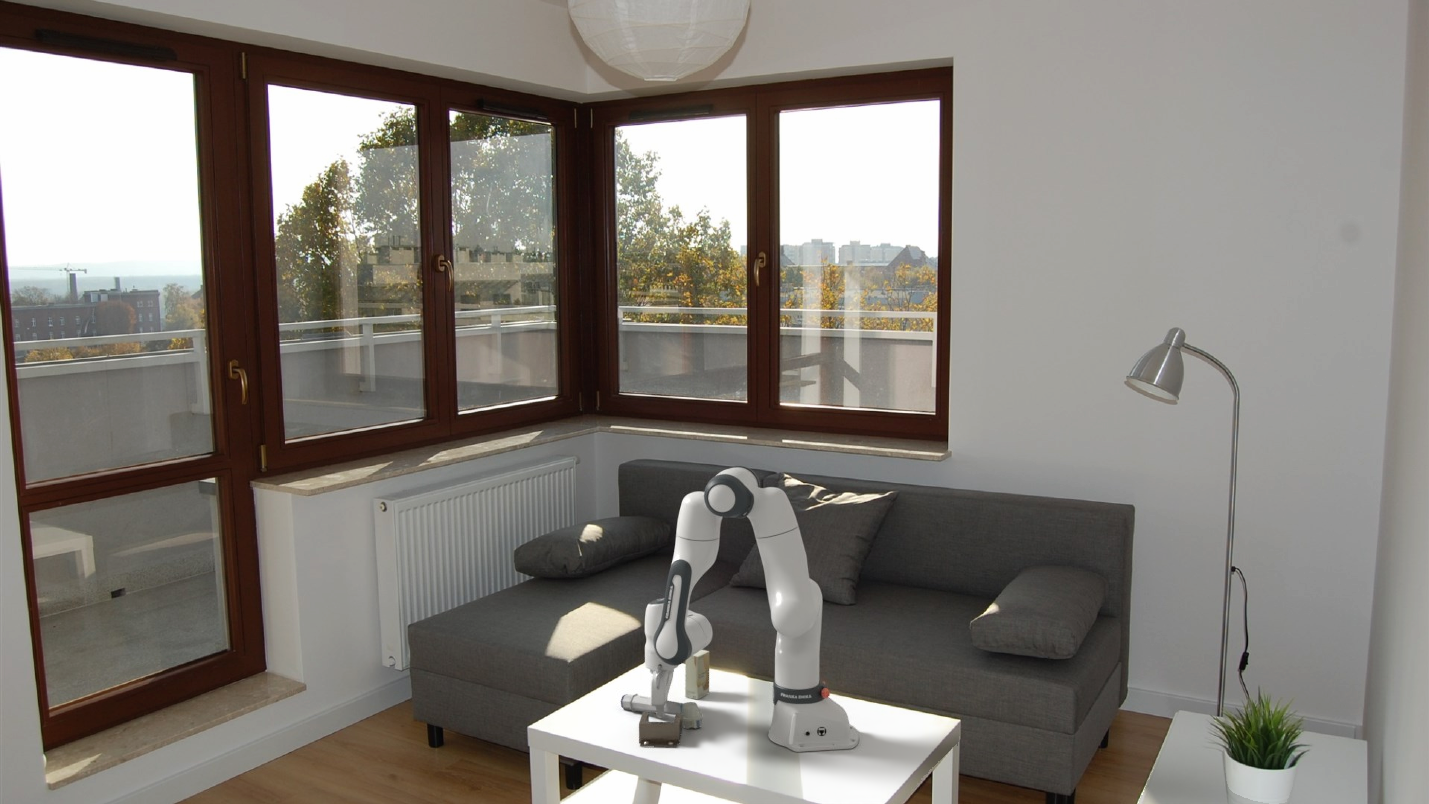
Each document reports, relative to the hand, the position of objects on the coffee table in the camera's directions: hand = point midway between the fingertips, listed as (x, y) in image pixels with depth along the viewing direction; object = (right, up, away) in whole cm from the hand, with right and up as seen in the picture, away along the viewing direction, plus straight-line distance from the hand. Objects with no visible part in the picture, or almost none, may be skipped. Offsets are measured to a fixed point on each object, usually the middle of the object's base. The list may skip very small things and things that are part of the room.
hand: (662, 710), depth 281 cm
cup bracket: (0, -3, -12) cm, 13 cm away
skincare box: (+9, -1, +17) cm, 19 cm away
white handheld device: (0, -3, 0) cm, 3 cm away
